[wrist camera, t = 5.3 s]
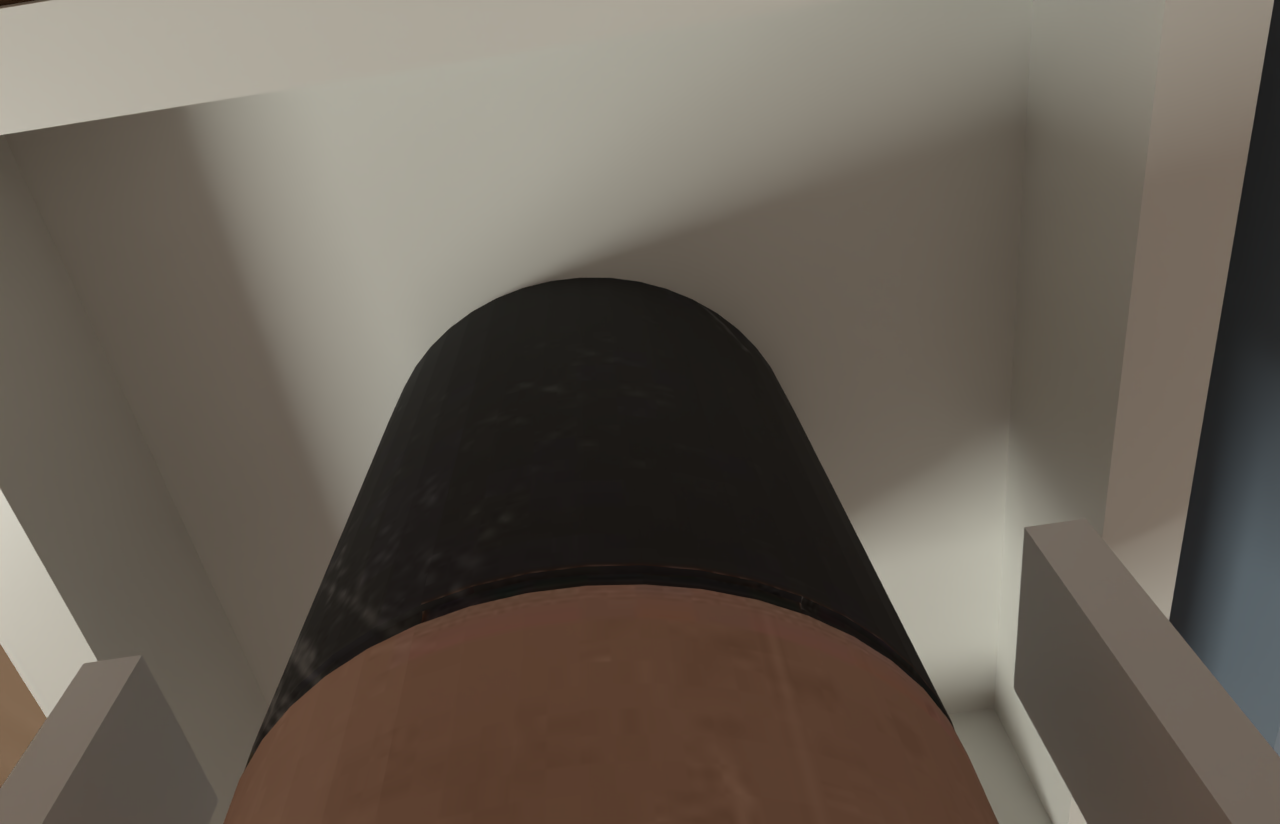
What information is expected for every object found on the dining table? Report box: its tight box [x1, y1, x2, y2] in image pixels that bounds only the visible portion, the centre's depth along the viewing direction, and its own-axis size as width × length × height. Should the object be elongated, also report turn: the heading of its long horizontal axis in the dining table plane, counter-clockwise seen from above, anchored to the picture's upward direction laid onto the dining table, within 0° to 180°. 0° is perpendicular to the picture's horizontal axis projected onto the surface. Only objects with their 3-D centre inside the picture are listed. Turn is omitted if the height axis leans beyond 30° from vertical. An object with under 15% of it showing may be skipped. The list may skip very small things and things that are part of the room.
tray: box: [0, 0, 1274, 824], centre depth 15 cm, size 17×17×4 cm
